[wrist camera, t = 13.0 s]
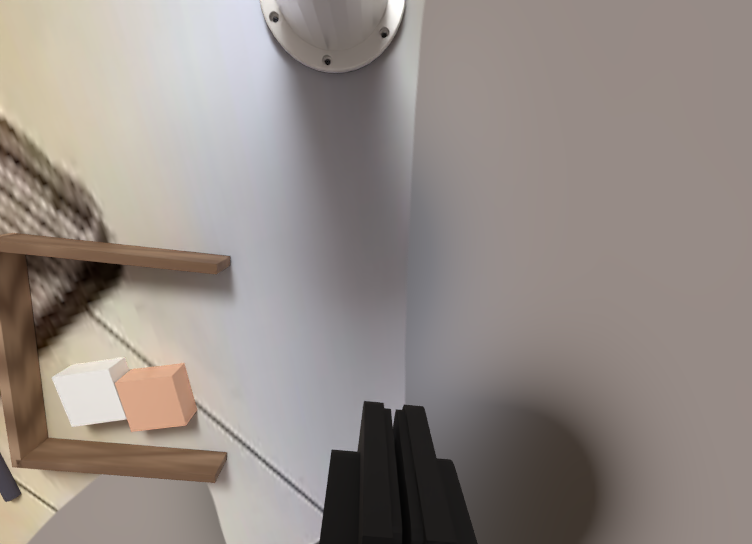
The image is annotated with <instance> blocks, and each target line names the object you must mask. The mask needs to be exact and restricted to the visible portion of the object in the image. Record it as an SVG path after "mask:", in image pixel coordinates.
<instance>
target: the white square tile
mask: <svg viewBox="0 0 752 544" xmlns="http://www.w3.org/2000/svg"><path fill="white" fill-rule="evenodd" d="M128 371H130V370H129V367H128V364H127V361H126V358H125V357H121V358H114V359H107V360H100V361H93V362H86V363H79V364H72V365H70V366H69V367H67V368H65V369H64V370H62V371H61V372H59V373H58V374H56V375H55V376H53V377H52V380H53V382H54V385H55V387H56V390H57V392H58V394H59V397H60V399H61V402H62V404H63V407H64V409H65V411H66V414H67V416H68V419H69V421H70V424H71V426H72V427H75V426H82V425H89V424H97V423H104V422H111V421H118V420H125V419H127V418H126V415H125V412H124V409H123V406H122V403H121V400H120V397H119V394H118V391H117V388H116V385H115V382H116V381H118V380H119V379H120V378H121V377H122V376H124V375H125V374H126V373H127V372H128Z"/></svg>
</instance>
